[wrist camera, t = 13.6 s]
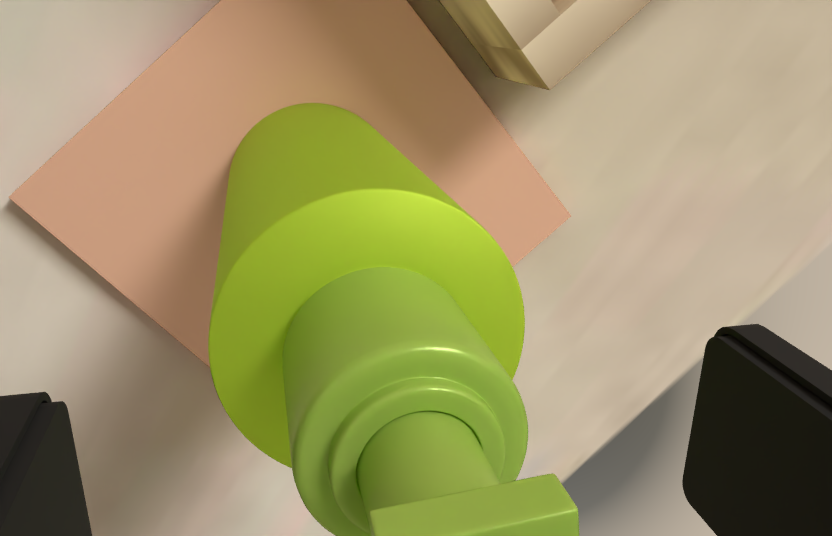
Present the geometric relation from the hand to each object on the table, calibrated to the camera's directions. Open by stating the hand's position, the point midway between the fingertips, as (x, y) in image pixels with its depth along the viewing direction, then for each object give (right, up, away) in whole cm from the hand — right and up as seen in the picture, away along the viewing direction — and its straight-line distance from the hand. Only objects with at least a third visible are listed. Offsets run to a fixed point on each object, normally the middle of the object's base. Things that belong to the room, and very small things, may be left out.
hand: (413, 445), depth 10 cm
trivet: (-4, +5, +16) cm, 17 cm away
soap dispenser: (-4, +5, +15) cm, 16 cm away
